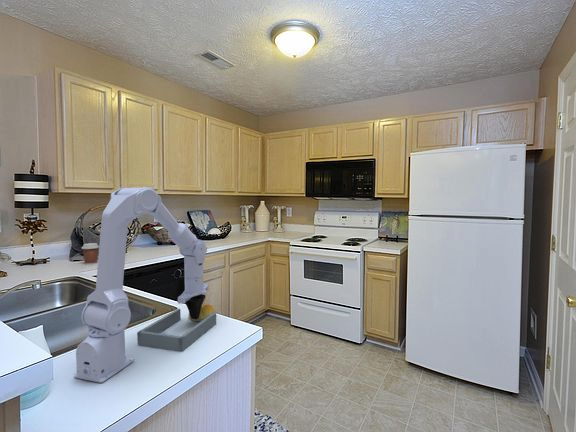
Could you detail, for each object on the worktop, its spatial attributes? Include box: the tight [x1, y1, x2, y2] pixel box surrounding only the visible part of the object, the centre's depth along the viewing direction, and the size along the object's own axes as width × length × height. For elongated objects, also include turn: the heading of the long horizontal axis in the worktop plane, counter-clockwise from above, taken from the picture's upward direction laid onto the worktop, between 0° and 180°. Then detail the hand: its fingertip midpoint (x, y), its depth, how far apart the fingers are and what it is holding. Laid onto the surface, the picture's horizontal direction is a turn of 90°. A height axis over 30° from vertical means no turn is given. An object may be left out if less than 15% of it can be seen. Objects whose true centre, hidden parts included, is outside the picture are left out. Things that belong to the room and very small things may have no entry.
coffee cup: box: [81, 242, 99, 266], centre depth 184 cm, size 9×9×12 cm
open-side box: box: [136, 308, 217, 352], centre depth 89 cm, size 18×14×4 cm
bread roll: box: [188, 304, 217, 322], centre depth 101 cm, size 8×9×4 cm
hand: (194, 318), depth 97 cm, fingers closed
